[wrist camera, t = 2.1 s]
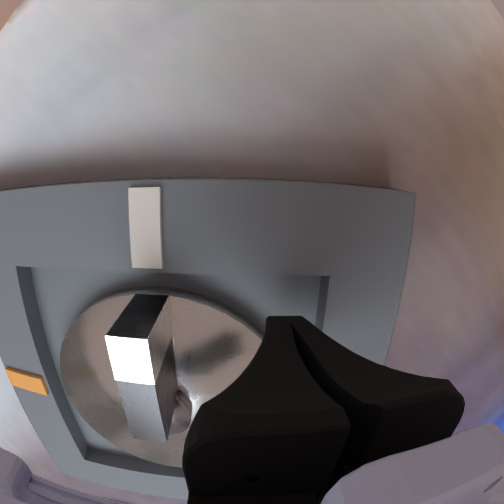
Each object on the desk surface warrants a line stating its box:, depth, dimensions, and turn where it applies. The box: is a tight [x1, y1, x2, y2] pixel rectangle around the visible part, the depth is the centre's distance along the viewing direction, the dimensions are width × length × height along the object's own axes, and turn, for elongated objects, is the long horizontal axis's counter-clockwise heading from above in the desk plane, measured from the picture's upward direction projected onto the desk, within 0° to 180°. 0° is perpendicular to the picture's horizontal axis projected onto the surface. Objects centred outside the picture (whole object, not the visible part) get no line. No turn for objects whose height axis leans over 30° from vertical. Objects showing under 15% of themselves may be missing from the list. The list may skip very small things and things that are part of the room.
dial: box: [60, 286, 264, 468], centre depth 12 cm, size 12×12×4 cm
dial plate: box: [0, 178, 416, 500], centre depth 14 cm, size 21×21×2 cm
